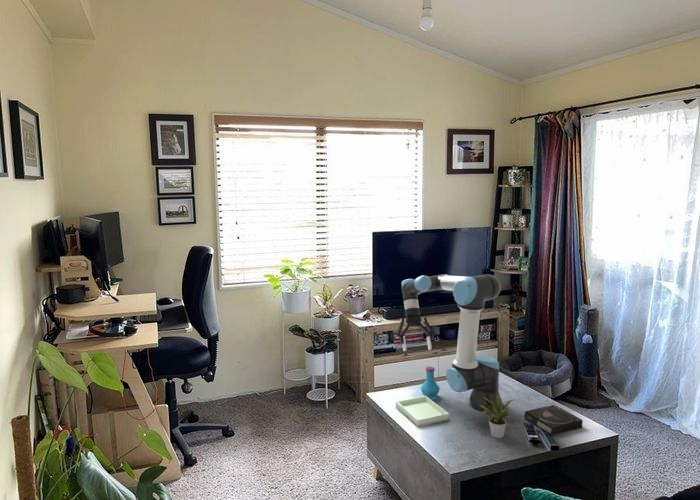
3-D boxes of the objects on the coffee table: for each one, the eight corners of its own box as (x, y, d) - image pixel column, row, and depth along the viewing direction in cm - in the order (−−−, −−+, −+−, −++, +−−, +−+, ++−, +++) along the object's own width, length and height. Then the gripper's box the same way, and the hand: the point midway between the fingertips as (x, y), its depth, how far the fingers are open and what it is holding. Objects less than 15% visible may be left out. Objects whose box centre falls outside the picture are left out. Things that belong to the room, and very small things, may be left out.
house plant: (502, 423, 228) (503, 388, 225) (523, 437, 215) (524, 400, 213) (475, 429, 223) (475, 393, 220) (495, 444, 210) (495, 406, 207)
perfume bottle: (441, 400, 252) (441, 370, 250) (423, 401, 252) (423, 371, 250) (437, 392, 261) (437, 364, 259) (419, 393, 261) (419, 364, 259)
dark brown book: (524, 419, 232) (524, 411, 231) (554, 412, 238) (554, 404, 237) (550, 436, 216) (550, 427, 216) (582, 428, 222) (582, 420, 222)
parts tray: (448, 419, 232) (448, 413, 232) (417, 426, 226) (417, 420, 226) (425, 401, 251) (425, 395, 251) (395, 407, 246) (395, 401, 245)
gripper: (431, 310, 274) (437, 350, 266) (386, 311, 267) (391, 352, 259) (437, 306, 267) (443, 347, 259) (391, 307, 260) (396, 349, 253)
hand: (417, 350), depth 259 cm, fingers open, 13 cm apart
